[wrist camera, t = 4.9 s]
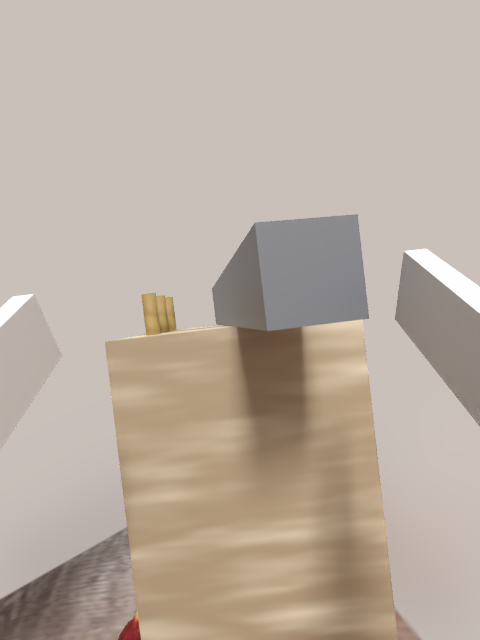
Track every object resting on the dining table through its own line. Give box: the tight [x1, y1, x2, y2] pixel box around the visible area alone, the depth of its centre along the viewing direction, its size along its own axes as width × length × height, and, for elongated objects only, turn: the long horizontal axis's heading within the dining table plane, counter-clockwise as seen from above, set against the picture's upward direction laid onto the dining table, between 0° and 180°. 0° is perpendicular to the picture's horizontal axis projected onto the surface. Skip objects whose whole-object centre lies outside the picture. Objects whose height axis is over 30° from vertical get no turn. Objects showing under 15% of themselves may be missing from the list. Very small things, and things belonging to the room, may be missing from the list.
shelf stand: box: [105, 293, 398, 640], centre depth 29 cm, size 14×16×41 cm
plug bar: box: [212, 215, 369, 331], centre depth 27 cm, size 27×4×4 cm, turn 8°
